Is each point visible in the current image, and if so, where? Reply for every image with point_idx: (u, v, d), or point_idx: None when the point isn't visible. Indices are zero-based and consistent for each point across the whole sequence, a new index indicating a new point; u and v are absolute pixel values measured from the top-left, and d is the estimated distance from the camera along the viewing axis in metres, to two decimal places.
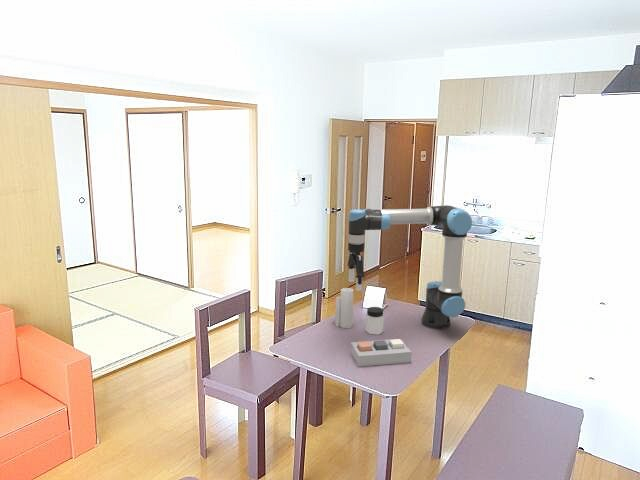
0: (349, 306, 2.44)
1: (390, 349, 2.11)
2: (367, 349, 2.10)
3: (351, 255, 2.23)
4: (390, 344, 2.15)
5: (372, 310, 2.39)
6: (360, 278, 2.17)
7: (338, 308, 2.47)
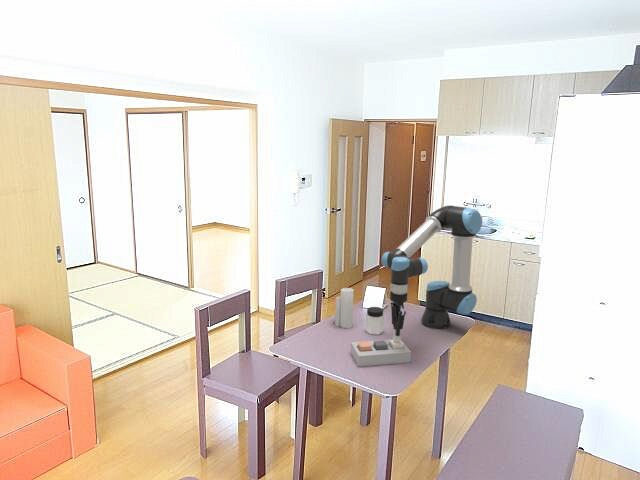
0: (349, 306, 2.44)
1: (390, 349, 2.11)
2: (367, 349, 2.10)
3: (393, 304, 2.11)
4: (390, 344, 2.15)
5: (372, 310, 2.39)
6: (398, 330, 2.11)
7: (338, 308, 2.47)
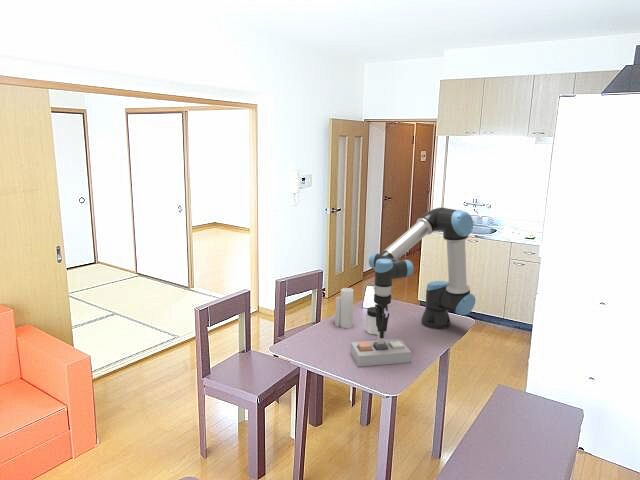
0: (349, 306, 2.44)
1: (390, 349, 2.11)
2: (367, 349, 2.10)
3: (377, 306, 2.10)
4: (390, 346, 2.16)
5: (372, 310, 2.39)
6: (382, 332, 2.10)
7: (338, 308, 2.47)
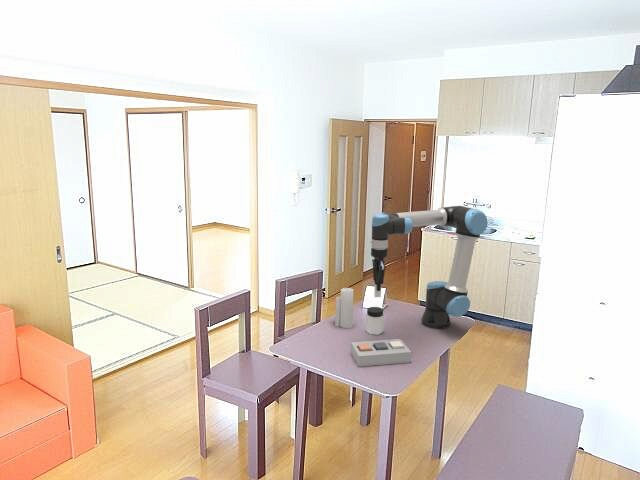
0: (349, 306, 2.44)
1: (390, 349, 2.11)
2: None
3: (374, 260, 2.19)
4: (390, 346, 2.16)
5: (372, 310, 2.39)
6: (379, 285, 2.19)
7: (338, 308, 2.47)
